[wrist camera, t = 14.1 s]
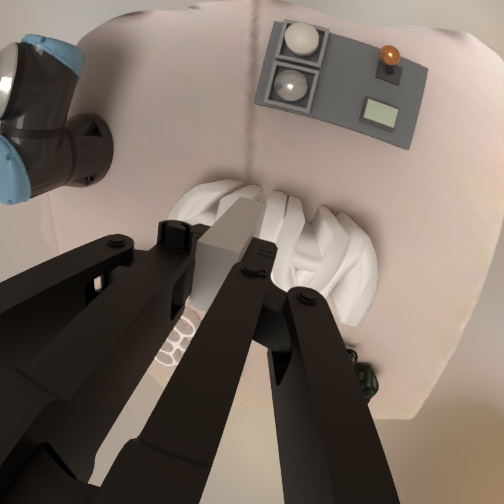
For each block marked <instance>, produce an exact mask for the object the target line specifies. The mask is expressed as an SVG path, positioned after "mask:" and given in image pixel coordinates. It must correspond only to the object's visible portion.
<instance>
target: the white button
mask: <svg viewBox="0 0 504 504" xmlns="http://www.w3.org/2000/svg"><path fill="white" fill-rule="evenodd" d="M285 41H286V44H287V47H288V49H289V50H290V51H291V52H292V53H293V54H295V55H298V56H309V55H311V54H313V53H314V52H315V51H316V50H317V48H318V42H319V35H318V32H317V31H316V29H315V28H314V27H313V26H311V25H309V24H307V23H295V24H292V25H291V26H289V27H288V28H287V30H286V31H285Z"/></svg>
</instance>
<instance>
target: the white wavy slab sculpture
mask: <svg viewBox="0 0 504 504" xmlns="http://www.w3.org/2000/svg"><path fill="white" fill-rule="evenodd" d="M243 184H245V183H243V182H240V181H237V180H232V179H226V180H220V181H215V182H210V183H205V184H200V185H197V186H195V187H193V188H192V189H190V190H189V191H188V192H187V193H185V194H184V195H183V196H182V197H181V198H180V199H179V200H178V201H177V202H176V204H175V205H174V206H173V208H172V209H171V211H170V212H169V214H168V216H167V218H166V220H179V221H184V222H186V223H189V224H191V225H196V224H199V223H201V224H204V225H208V226H212V225H213V224H214V223H215V222H216V221H217V220H218V219H219V218H220V217H221V216H222V215H223V214H224V213H225V212H226V211H227V210H228V209H229V208H230V207H231V206H232V205H233V204H234V202H235V201H236V200H237V199H238V198H239V197H244V198H248V199H252V200H256V201H258V200H259V197H260V194H261V192H262V188H261V187H259V186H257V185H248V186H246V187H244V188H242V189H239V190H237V191H235V192H233V191H234V190H235V189H237V188H238V187H240V186H242V185H243ZM232 192H233V193H232ZM230 193H231V194H230ZM265 203H267V207H266V211H265V215H264V220H263V224H262V228H261V232H260V236H259V239H263V240H266V241H270V242H273V243H275V244H276V246H277V248H278V251H277V254H276V258H275V262H274V265H273V269H272V273H271V280H272V282H273V283H274V284H275V285H276V286H277V287H279V288H280V289H282V290H284V291H286V292H288V290H289V289H290V288H292V287H296V286H304V287H309V288H312V289H313V290H316V291H318V292H319V293H320V294H322V295H323V296H324V298H325V299H327V297H328V295H330V298H331V300H332V303H333V305H334V308H335V310H336V313H337V315H338V318H339V320H340V323H343V324H346V325H349V326H354V327H358V326H359V325H360V323H361V322H362V321H363V320H364V318H365V317H366V315H367V313H368V312H369V310H370V308H371V306H372V304H373V301H374V298H375V295H376V291H377V285H378V263H377V257H376V253H375V250H374V247H373V244H372V242H371V240H370V237H369V236H368V235H367V234H366V233H365V232H364V231H363V230H362V229H361V228H360V227H359V226H358V225H357V224H356V223H355V222H354V221H353V220H352V219H351V218H350V217H349V216H347V215H346V214H345V213H344V212H343V211H342V212H341V213H339V214H337V215H335V216H334V215H333V214H332V212H331V211H330V210H329V209H328V208H327V207H326V206H324V205H317V206H316V211H315V214H314V217H313V220H312V222H311V223H305V218H304V213H303V208H302V203H301V199H299V198H297V197H294V196H289V198H288V199H287V195H286V194H285V193H283V192H280V191H273V192H272V194H271V195H270V196H269V198H268V199H267V201H266V202H265Z"/></svg>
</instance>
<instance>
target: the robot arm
mask: <svg viewBox="0 0 504 504" xmlns="http://www.w3.org/2000/svg"><path fill="white" fill-rule="evenodd" d="M84 58H85V55H84V52H83V51H82V50H81V49H80V48H79V47H77V46H74V45H72V44H69V43H66V42H63V41H60V40H57V39H53V38H47V37H43V36H40V35H33V34H27V35H25V36H24V38H23V39H22V40H21V43H14V42H12V43H10V44H8V45H7V46H6V47H5V48H3V49H2V50H1V51H0V121H1V124H0V202H2V203H3V204H6V205H14V204H17V203H20V202H25V201H28V200H29V199H31V198H33V197H35V196H38V195H40V194H43V193H46V192H48V191H51V190H53V189H56V188H58V187H61V186H71V187H87V186H90V185H93V184H95V183H97V182H99V181H100V180H101V179H102V178H103V177H104V176H105V174H106V173H107V171H108V169H109V167H110V164H111V160H112V155H113V142H112V137H111V133H110V131H109V128H108V127H107V125H106V123H105V122H104V121H103V120H102V119H101V118H100V117H98V116H97V115H94V114H90V113H85V114H77V115H74V116H72V117H70V118H68V119H67V115H68V111H69V108H70V104H71V101H72V97H73V94H74V91H75V87H76V84H77V81H78V79H80V72H81V69H82V65H83V62H84ZM66 119H67V120H66ZM266 207H267V203H263V202H259V201H256V200H252V199H248V198H244V197H239V198H238V199H237V200H236V201H235V202H234V204H233V205H232V206H231V207H230V208H229V209H228V210H227V211H226V212H225V213H224V214H223V215H222V216H221V217H220V218H219V219H218V220H217V221H216V222H215V223H214V224H213V225H212V226H208V225H204V224H201V223H199V224H196V225H191V224H189V223H186V222H184V221H179V220H165V221H161V222H159V226H158V237H157V244H156V245H155V246H154V247H153V248H151V249H150V250H149V251H144V250H136V249H134V241H133V239H132V238H130V237H128V236H125V235H123V234H121V235H120V234H114V235H108V236H105V237H102V238H100V239H97V240H95V241H92V242H90V243H87V244H85V245H82V246H80V247H78V248H75V249H73V250H71V251H68V252H66V253H64V254H61V255H59V256H57V257H54V258H52V259H50V260H48V261H46V262H43V263H41V264H39V265H37V266H34V267H32V268H30V269H28V270H26V271H24V272H21V273H20V274H17V275H15V276H13V277H11V278H9V279H7V280H5V281H3V282H1V283H0V504H199V502H200V499H201V497H202V493H203V490H204V488H205V485H206V482H207V479H208V476H209V473H210V470H211V467H212V464H213V461H214V458H215V455H216V452H217V449H218V446H219V443H220V440H221V437H222V434H223V431H224V428H225V425H226V421H227V419H228V415H229V412H230V409H231V406H232V403H233V400H234V397H235V393H236V390H237V387H238V384H239V381H240V377H241V374H242V371H243V368H244V364H245V361H246V358H247V355H248V351H249V348H250V345H251V341H252V340H254V341H256V342H258V343H260V344H261V345H263V346H265V347H267V348H268V352H267V357H268V365H269V373H270V382H271V390H272V399H273V407H274V415H275V423H276V433H277V442H278V449H279V459H280V467H281V475H282V484H283V493H284V502H285V504H400V502H399V498H398V494H397V491H396V488H395V485H394V482H393V478H392V475H391V472H390V469H389V466H388V463H387V460H386V456H385V453H384V451H383V447H382V445H381V442H380V439H379V436H378V433H377V430H376V427H375V424H374V421H373V419H372V416H371V413H370V410H369V407H368V405H367V402H366V399H365V396H364V394H363V391H362V388H361V386H360V383H359V380H358V378H357V375H356V373H355V370H354V367H353V365H352V362H351V360H350V357H349V355H348V352H347V349H346V347H345V344H344V342H343V339H342V337H341V334H340V332H339V330H338V327H337V325H336V322H335V320H334V317H333V315H332V313H331V310H330V308H329V305H328V303H327V301H326V299H325V298H324V296H323V295H322V294H320V293H319V292H318V291H316V290H313V289H312V288H309V287H304V286H296V287H292V288H290V289H289V290H288V292H286V291H284V290H282V289H280V288H279V287H277V286H276V285H275V284H274V283H273V282H272V280H271V273H272V269H273V265H274V262H275V258H276V254H277V251H278V248H277V246H276V244H275V243H273V242H270V241H266V240H263V239H259V236H260V232H261V228H262V224H263V220H264V215H265V211H266ZM99 276H100V279H101V288H100V289H97V290H95V287H94V279H95V278H97V277H99ZM189 295H190V298H189V306H192V307H195V308H198V309H201V310H204V311H207V313H206V315H205V316H204V318H203V320H202V322H201V324H200V325H199V327H198V329H197V331H196V333H195V335H194V336H193V338H192V340H191V342H190V344H189V345H188V347H187V349H186V351H185V353H184V355H183V356H182V358H181V360H180V362H179V364H178V365H177V367H176V369H175V371H174V373H173V375H172V376H171V378H170V380H169V382H168V384H167V386H166V387H165V389H164V391H163V393H162V395H161V397H160V399H159V400H158V402H157V404H156V406H155V408H154V410H153V411H152V413H151V415H150V417H149V419H148V421H147V423H146V425H145V426H144V428H143V430H142V432H141V433H140V435H139V436H138V437H137V438H134V439H130V440H129V441H128V442H127V443H126V444H125V445H124V446H123V448H122V449H121V451H120V452H119V454H118V456H117V457H116V459H115V461H114V463H113V465H112V466H111V468H110V470H109V472H108V474H107V476H106V477H105V479H104V481H103V483H102V485H101V486H100V487H98V486H95V485H92V484H88V481H89V479H90V477H91V475H92V473H93V469H94V464H95V456H96V453H97V451H98V449H99V448H100V446H101V444H102V443H103V441H104V439H105V438H106V436H107V434H108V432H109V431H110V429H111V427H112V426H113V424H114V423H115V421H116V419H117V418H118V416H119V414H120V413H121V411H122V409H123V408H124V406H125V405H126V403H127V401H128V400H129V398H130V396H131V395H132V393H133V391H134V390H135V388H136V386H137V385H138V384H139V382H140V380H141V379H142V377H143V375H144V374H145V372H146V371H147V369H148V368H149V366H150V364H151V363H152V361H153V360H154V358H155V356H156V355H157V353H158V352H159V350H160V349H161V347H162V345H163V344H164V342H165V341H166V339H167V338H168V336H169V335H170V333H171V331H172V330H173V328H174V327H175V325H176V324H177V322H178V321H179V319H180V317H181V316H182V314H183V313H184V309H185V301H186V299H187V298H188V296H189Z"/></svg>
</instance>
